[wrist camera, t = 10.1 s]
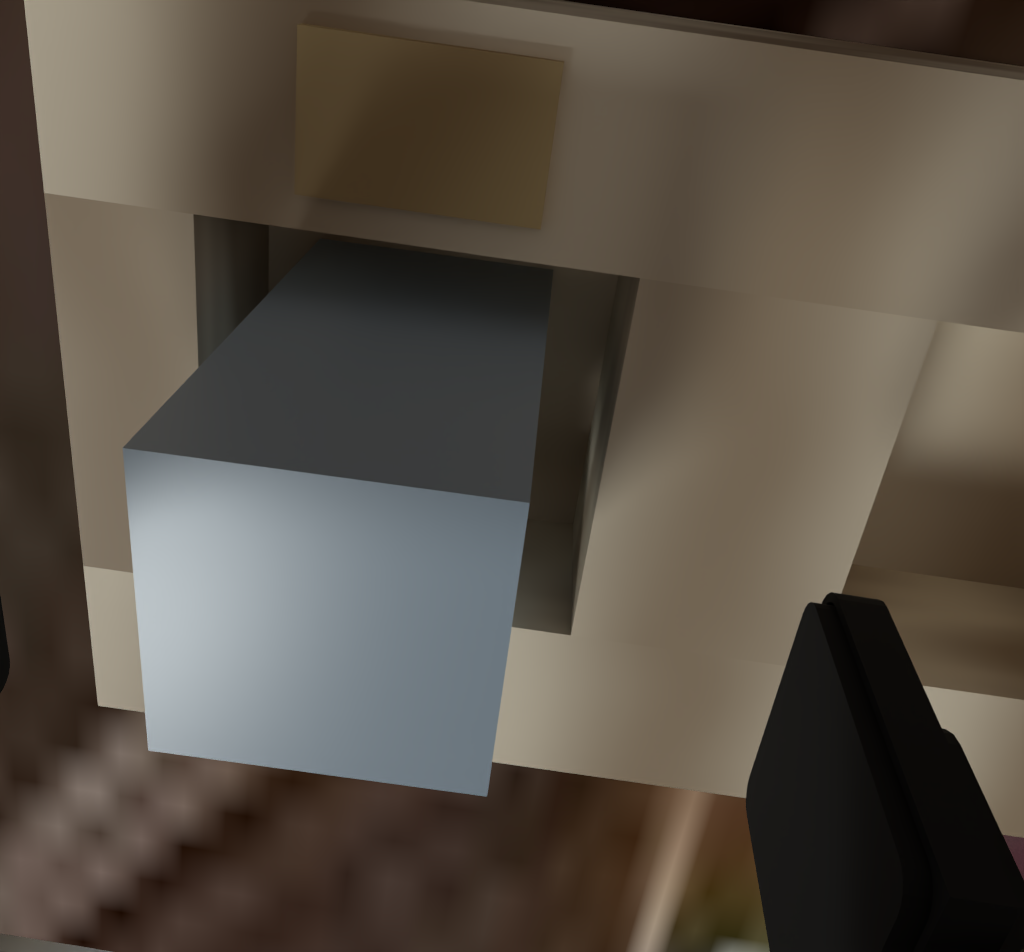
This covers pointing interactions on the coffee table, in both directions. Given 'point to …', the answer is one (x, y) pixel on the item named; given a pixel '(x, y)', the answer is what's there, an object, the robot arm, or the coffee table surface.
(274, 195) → the socket block
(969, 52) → the coffee table surface
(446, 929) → the coffee table surface
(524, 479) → the grey rectangular block
